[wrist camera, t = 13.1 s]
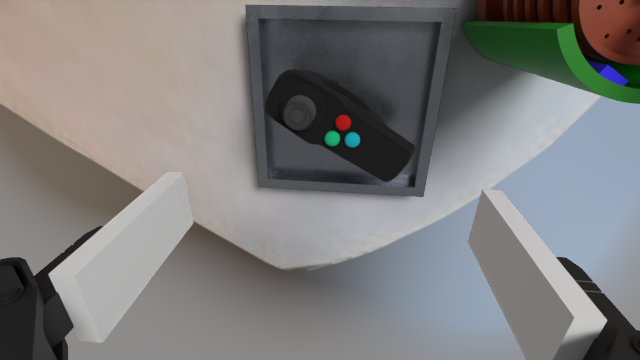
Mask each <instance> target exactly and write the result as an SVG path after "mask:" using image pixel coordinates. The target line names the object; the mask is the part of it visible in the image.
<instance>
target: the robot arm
mask: <svg viewBox="0 0 640 360" xmlns="http://www.w3.org/2000/svg"><path fill="white" fill-rule="evenodd" d="M192 224H193V218H192V213H191V207H190V202H189V197H188V192H187V186H186V181H185V176H184V172H167V173H165V174H164V175H163V176H162V177H161V178H160V179H158V180H157V181H156V182H155V183H154V184H153V185H151V186H150V187H149V188H148V189H147V190H146V191H144V192H143V193H142V194H141V195H140V196H139V197H137V198H136V199H135V200H134V201H133V202H132V203H130V204H129V205H128V206H127V207H126V208H125V209H124V210H122V211H121V212H120V213H119V214H118V215H117V216H115V217H114V218H113V219H112V220H111V221H110V222H108V223H107V224H106V225H105V226H99V227H97V228H96V229H94V230H92V231H90V232H88V233H86V234H84V235H83V236H82V237H81V238H80V239H78V240H77V241H76V242H75V243H74V245H71V246H70V247H69V248H67V249H66V250H65V252H64V253H61V254H60V255H59V256H58V257H57V258H55V259H54V260H53V261H52V262H51V263H49V264H48V265H47V266H46V267H44V268H43V269H42V270H41V271H40V272H39V273H37V274H36V275H35V276H33V274H32V272H31V270H30V268H29V266H28V264H27V262H26V260H24V259H22V258H20V257H17V258H13V257H12V258H6V259H1V260H0V360H68V345H67V342H66V340H65V338H64V337H65V336H66V335H67V334H68V333H69V332H70V331H71V330H72V328H74V330H75V332H76V334H77V336H78V339H79V341H89V342H100V343H103V341H104V340H105V339H106V337H107V336H108V335H109V333H110V332H111V331H112V329H113V328H114V327H115V325H116V324H117V323H118V321H119V320H120V319H121V318H122V316H123V315H124V314H125V312H126V311H127V310H128V308H129V307H130V306H131V304H132V303H133V302H134V300H135V299H136V298H137V297H138V295H139V294H140V292H141V291H142V290H143V289H144V287H145V286H146V285H147V283H148V282H149V280H150V279H151V278H152V277H153V275H154V274H155V273H156V272H157V270H158V269H159V268H160V266H161V265H162V263H163V262H164V261H165V260H166V258H167V257H168V256H169V254H170V253H171V252H172V251H173V249H174V248H175V246H176V245H177V244H178V243H179V241H180V240H181V239H182V237H183V236H184V235H185V233H186V232H187V231H188V230H189V228H190V227H191V225H192ZM468 242H469V244H470V246H471V249H472V251H473V253H474V254H475V257H476V259H477V261H478V263H479V265H480V267H481V269H482V271H483V273H484V275H485V277H486V279H487V281H488V283H489V285H490V287H491V289H492V291H493V293H494V295H495V297H496V299H497V301H498V303H499V305H500V307H501V309H502V311H503V313H504V315H505V318H506V319H507V322H508V324H509V326H510V327H511V329H512V331H513V334H514V336H515V338H516V340H517V342H518V344H519V346H520V348H521V350H522V352H523V354H524V356H525V358H526V360H640V331H638V330H636V329H635V328H634V327H633V326H632V325H631V324H630V323H629V322H628V321H627V319H626V318H625V317H624V316H623V315H622V314H621V312H620V311H619V310H618V309H617V308H616V307H615V306H614V305H613V303H612V302H611V301H610V300H609V299H608V298H607V297H606V296H605V294H603V293H601V290H600V289H599V288H598V286H597V285H596V284H595V283H593V282H592V280H591V279H590V278H589V277H588V275H587V274H586V273H585V272H584V271H583V270H582V269H581V268H580V267H579V266H577V265H576V264H574V263H573V262H571V261H570V260H568V259H567V258H563V257H555V256H554V255H553V253H552V252H551V251H550V250H549V248H548V247H547V246H546V245H545V244H544V242H543V241H542V240H541V239H540V237H539V236H538V235H537V234H536V232H535V231H534V230H533V229H532V228H531V226H530V225H529V224H528V223H527V221H526V220H525V219H524V218H523V217H522V216H521V214H520V213H519V212H518V211H517V210H516V208H515V207H514V206H513V205H512V203H511V202H510V201H509V199H507V197H506V196H505V195H504V193H503V192H502V191H501V190H487V189H482V192H481V196H480V199H479V203H478V207H477V211H476V214H475V218H474V222H473V225H472V229H471V233H470V236H469V240H468Z"/></svg>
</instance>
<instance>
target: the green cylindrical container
mask: <svg viewBox="0 0 640 360" xmlns="http://www.w3.org/2000/svg"><path fill="white" fill-rule="evenodd" d="M476 15H477V20H478V21H468V22H466V23H463V24H462V26H463V30H464V33H465V35H466V37H467V39H468V41H469V43H470V44H471V45H472V47H473V48H474V49H475V50H476V51H477V52H478V53H480V54H481V55H482V56H484V57H486V58H488V59H490V60H492V61H495V62H498V63H502V64H505V65H508V66H511V67H514V68H517V69H520V70H523V71H526V72H529V73H533V74H536V75H539V76H542V77H545V78H548V79H551V80H554V81H557V82H561V83H564V84H567V85H570V86H573V87H576V88H579V89H582V90H585V91H589V92H592V93H595V94H598V95H601V96H604V97H607V98H610V99H614V100H617V101H622V102H628V103H637V104H640V0H477V3H476Z"/></svg>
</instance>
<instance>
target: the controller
mask: <svg viewBox="0 0 640 360" xmlns="http://www.w3.org/2000/svg"><path fill="white" fill-rule="evenodd" d="M265 110H266V113H267V114H268V115H269V116H270V117H271V118H272V119H273V120H275V121H276V122H278V123H279V124H281V125H282V126H283V127H285V128H286V129H288V130H289V131H291V132H292V133H294V134H295V135H297V136H298V137H300V138H301V139H303V140H304V141H306V142H308V143H309V144H316V145H320V146H323V147H324V148H326V149H328V150H330V151H331V152H333V153H335V154H336V155H338V156H340V157H342V158H343V159H345V160H347V161H349V162H350V163H352V164H354V165H356V166H357V167H359V168H361V169H363V170H364V171H366V172H368V173H369V174H371V175H373V176H375V177H376V178H378V179H380V180H382V181H383V182H389V181H391V180H393V179H394V178H396V177H397V176H398V175H399V174H400V173H401V171H402V170H403V169H404V168H405V167H406V165H407V164H408V163H409V161H410V160H411V158H412V156H413V154H414V152H415V146H414V144H412V143H411V142H409V141H408V140H406V139H405V138H404V137H402V136H401V135H399V134H398V133H396V132H395V131H394V130H392V129H391V128H389V127H388V126H386V125H385V123H384V121H383V120H382V119H381V117H380V116H379V115H378V114H377V113H376V112H375V111H374V110H373V109H371V108H370V107H369V106H368V105H367V104H366V103H365V102H364V101H362V100H361V99H360V98H359V97H357V96H356V95H354V94H353V93H352V92H350V91H349V90H347V89H346V88H344V87H342V86H341V85H339V84H337V83H336V82H334V81H332V80H330V79H328V78H326V77H324V76H322V75H320V74H317V73H314V72H312V71H307V70H297V69H292V70H287V71H285V72H283V73H282V74H280V75H279V76H278V78H277V80H276V81H275V83H274V85H273V87H272V89H271V91H270V93H269V95H268V96H267V100H266V103H265Z"/></svg>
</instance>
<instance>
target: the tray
mask: <svg viewBox="0 0 640 360" xmlns="http://www.w3.org/2000/svg"><path fill="white" fill-rule="evenodd" d="M456 11H457V8H413V7H351V6H289V5H246V19H247V32H248V45H249V59H250V72H251V85H252V99H253V112H254V126H255V139H256V152H257V166H258V179H259V187H270V188H287V189H303V190H319V191H336V192H352V193H368V194H385V195H401V196H417V197H423V196H424V190H425V184H426V179H427V173H428V168H429V162H430V156H431V151H432V145H433V140H434V134H435V129H436V123H437V117H438V112H439V106H440V101H441V95H442V89H443V84H444V78H445V73H446V67H447V62H448V56H449V50H450V45H451V39H452V34H453V28H454V22H455V17H456ZM292 69H297V70H307V71H312V72H314V73H317V74H320V75H322V76H324V77H326V78H328V79H330V80H332V81H334V82H336V83H337V84H339V85H341V86H342V87H344V88H346V89H347V90H349V91H350V92H352V93H353V94H354V95H356V96H357V97H359V98H360V99H361V100H362V101H364V102H365V103H366V104H367V105H368V106H369V107H370V108H371V109H373V110H374V111H375V112H376V113H377V114H378V115H379V116H380V117H381V119H382V120H383V121H384V123H385V125H386V126H388V127H389V128H391V129H392V130H394V131H395V132H396V133H398V134H399V135H401V136H402V137H404V138H405V139H406V140H408V141H409V142H411V143H412V144H414V146H415V152H414V154H413V156H412V158H411V160H410V161H409V163H408V164H407V165H406V167H405V168H404V169H403V170H402V171H401V173H400V174H399V175H398V176H397V177H396V178H394V179H393V180H391V181H389V182H383V181H382V180H380V179H378V178H376V177H375V176H373V175H371V174H369V173H368V172H366V171H364V170H363V169H361V168H359V167H357V166H356V165H354V164H352V163H350V162H349V161H347V160H345V159H343V158H342V157H340V156H338V155H336V154H335V153H333V152H331V151H330V150H328V149H326V148H324V147H323V146H320V145H316V144H309V143H308V142H306V141H304V140H303V139H301V138H300V137H298V136H297V135H295V134H294V133H292V132H291V131H289V130H288V129H286V128H285V127H283V126H282V125H281V124H279V123H278V122H276V121H275V120H273V119H272V118H271V117H270V116H269V115H268V114H267V113H266V110H265V103H266V100H267V96H268V95H269V93H270V91H271V89H272V87H273V85H274V83H275V81H276V80H277V78H278V76H279V75H280V74H282V73H283V72H285V71H287V70H292Z"/></svg>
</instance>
